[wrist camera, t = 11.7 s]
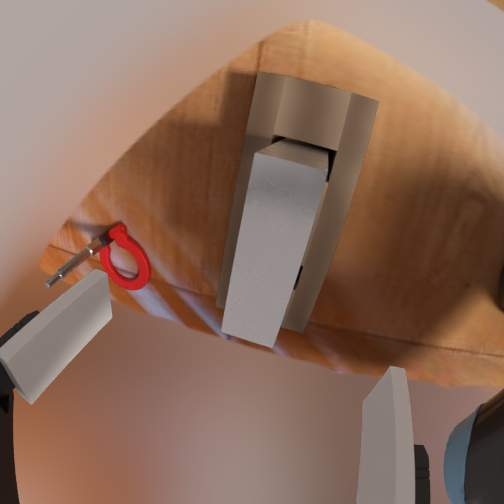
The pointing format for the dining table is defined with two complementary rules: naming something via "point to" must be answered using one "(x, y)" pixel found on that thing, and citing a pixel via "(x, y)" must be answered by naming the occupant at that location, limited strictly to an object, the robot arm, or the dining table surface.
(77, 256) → the tow hook
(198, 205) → the dining table surface
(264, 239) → the clip
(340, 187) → the slotted wooden block
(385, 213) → the dining table surface
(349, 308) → the dining table surface
